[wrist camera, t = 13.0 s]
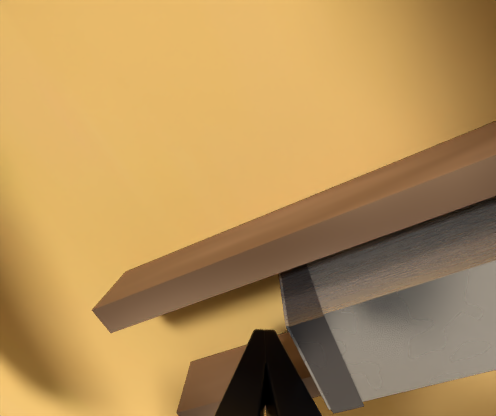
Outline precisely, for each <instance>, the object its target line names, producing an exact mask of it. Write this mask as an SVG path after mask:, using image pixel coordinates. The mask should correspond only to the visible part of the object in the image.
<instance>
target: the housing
mask: <svg viewBox="0 0 496 416" xmlns="http://www.w3.org/2000/svg"><path fill="white" fill-rule="evenodd" d="M494 196H496V121H495V122H492V123H490V124H487V125H485V126H483V127H480V128H478V129H475V130H473V131H470V132H468V133H465V134H463V135H460V136H458V137H455V138H453V139H451V140H448V141H446V142H443V143H441V144H438V145H436V146H433V147H431V148H428V149H426V150H424V151H421V152H419V153H416V154H414V155H411V156H409V157H406V158H404V159H401V160H399V161H397V162H394V163H392V164H389V165H387V166H384V167H382V168H379V169H377V170H374V171H372V172H369V173H367V174H365V175H362V176H360V177H357V178H355V179H352V180H350V181H347V182H345V183H342V184H340V185H338V186H335V187H333V188H330V189H328V190H325V191H323V192H320V193H318V194H315V195H313V196H311V197H308V198H306V199H303V200H301V201H298V202H296V203H293V204H291V205H288V206H286V207H283V208H281V209H279V210H276V211H274V212H271V213H269V214H266V215H264V216H261V217H259V218H256V219H254V220H252V221H249V222H247V223H244V224H242V225H239V226H237V227H234V228H232V229H229V230H227V231H224V232H222V233H220V234H217V235H215V236H212V237H210V238H207V239H205V240H202V241H200V242H197V243H195V244H193V245H190V246H188V247H185V248H183V249H180V250H178V251H175V252H173V253H170V254H168V255H166V256H163V257H161V258H158V259H156V260H153V261H151V262H148V263H146V264H143V265H141V266H138V267H136V268H134V269H131V270H129V271H126V272H125V273H124V274H123V275H122V276H121V277H120V279H119V280H118V281H117V282H116V283H115V284H114V285H113V287H112V288H111V289H110V290H109V291H108V292H107V293H106V295H105V296H104V297H103V298H102V299H101V300H100V301H99V303H98V304H97V305H96V306H95V307H94V308H93V309H92V311H93V312H94V313H95V315H96V316H97V317H98V318H99V319H100V321H101V322H102V323H103V324H104V326H105V327H106V328H107V329H108V330H109V332H110V333H113V332H116V331H118V330H121V329H124V328H127V327H130V326H132V325H135V324H138V323H141V322H144V321H146V320H149V319H152V318H155V317H158V316H160V315H163V314H166V313H169V312H172V311H174V310H177V309H180V308H183V307H186V306H188V305H191V304H194V303H197V302H200V301H202V300H205V299H208V298H211V297H214V296H216V295H219V294H222V293H225V292H228V291H230V290H233V289H236V288H239V287H242V286H244V285H247V284H250V283H253V282H256V281H258V280H261V279H264V278H267V277H270V276H272V275H275V274H278V273H281V272H284V271H286V270H289V269H292V268H295V267H298V266H300V265H303V264H306V263H309V262H312V261H314V260H317V259H320V258H323V257H326V256H328V255H331V254H334V253H337V252H340V251H342V250H345V249H348V248H351V247H354V246H356V245H359V244H362V243H365V242H368V241H370V240H373V239H376V238H379V237H382V236H384V235H387V234H390V233H393V232H396V231H398V230H401V229H404V228H407V227H410V226H413V225H415V224H418V223H421V222H424V221H427V220H429V219H432V218H435V217H438V216H441V215H443V214H446V213H449V212H452V211H455V210H457V209H460V208H463V207H466V206H469V205H471V204H474V203H477V202H480V201H483V200H485V199H488V198H491V197H494ZM278 337H279V339H280V340H281V342H282V344H283V346H284V348H285V349H286V351H287V353H288V355H289V357H290V359H291V360H292V362H293V364H294V366H295V368H296V370H297V371H298V373H299V375H300V377H301V379H302V380H303V382H304V384H305V386H306V388H307V390H308V391H309V393H310V395H311V397H312V398H314V397H318V396H322V395H321V394H320V392H319V390H318V388H317V386H316V384H315V382H314V380H313V378H312V376H311V374H310V372H309V370H308V368H307V366H306V365H305V363H304V361H303V359H302V357H301V355H300V353H299V351H298V349H297V347H296V345H295V343H294V341H293V339H292V338H291V336H290V334H289V332H286V333H283V334H280V335H278ZM246 346H247V345H244V346H241V347H238V348H234V349H231V350H228V351H225V352H222V353H218V354H215V355H212V356H209V357H205V358H202V359H199V360H196V361H192V362H191V363H190V366H189V370H188V374H187V377H186V381H185V384H184V388H183V392H182V395H181V399H180V402H179V406H178V409H177V414H178V415H179V416H214V415H215V413H216V411H217V408H218V406H219V404H220V402H221V400H222V398H223V396H224V393H225V391H226V389H227V387H228V385H229V383H230V381H231V378H232V376H233V374H234V372H235V370H236V368H237V366H238V363H239V361H240V359H241V357H242V355H243V353H244V350H245V348H246ZM265 410H266V408H265Z"/></svg>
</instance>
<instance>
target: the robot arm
mask: <svg viewBox="0 0 496 416" xmlns="http://www.w3.org/2000/svg"><path fill="white" fill-rule="evenodd" d="M265 408H266V416H322V415H321V413H320V411H319V410H318V408H317V406H316V404H315V402H314V401H313V399H312V397H311V395H310V393H309V391H308V390H307V388H306V386H305V384H304V382H303V380H302V379H301V377H300V375H299V373H298V371H297V370H296V368H295V366H294V364H293V362H292V360H291V359H290V357H289V355H288V353H287V351H286V349H285V348H284V346H283V344H282V342H281V340H280V339H279V337H278V335H277V333H276V331H275V330H263V329H255V330H254V331H253V333H252V335H251V338H250V340H249V342H248V344H247V346H246V348H245V350H244V353H243V355H242V357H241V359H240V361H239V363H238V366H237V368H236V370H235V372H234V374H233V376H232V378H231V381H230V383H229V385H228V387H227V389H226V391H225V393H224V396H223V398H222V400H221V402H220V404H219V406H218V408H217V411H216V413H215V415H214V416H264V413H265Z"/></svg>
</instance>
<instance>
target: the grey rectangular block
mask: <svg viewBox="0 0 496 416" xmlns="http://www.w3.org/2000/svg"><path fill="white" fill-rule="evenodd" d="M279 280H280V288H281V295H282V303H283V310H284V317H285V325H286V328H287V330H288V332H289V334H290V336H291V338H292V339H293V341H294V343H295V345H296V347H297V349H298V351H299V353H300V355H301V357H302V359H303V361H304V363H305V365H306V366H307V368H308V370H309V372H310V374H311V376H312V378H313V380H314V382H315V384H316V386H317V388H318V390H319V392H320V394H321V395H322V397H323V399H324V401H325V403H326V405H327V407H328V409H329V410H332V412H333V414H334V413H338V412H342V411H347V410H351V409H355V408H359V407H364V404H363V402H364V401H368V400H372V399H376V398H381V397H385V396H389V395H393V394H397V393H401V392H406V391H410V390H414V389H418V388H422V387H426V386H430V385H435V384H439V383H443V382H447V381H451V380H455V379H460V378H464V377H468V376H472V375H476V374H480V373H485V372H489V371H493V370H496V196H494V197H491V198H488V199H485V200H483V201H480V202H477V203H474V204H471V205H469V206H466V207H463V208H460V209H457V210H455V211H452V212H449V213H446V214H443V215H441V216H438V217H435V218H432V219H429V220H427V221H424V222H421V223H418V224H415V225H413V226H410V227H407V228H404V229H401V230H398V231H396V232H393V233H390V234H387V235H384V236H382V237H379V238H376V239H373V240H370V241H368V242H365V243H362V244H359V245H356V246H354V247H351V248H348V249H345V250H342V251H340V252H337V253H334V254H331V255H328V256H326V257H323V258H320V259H317V260H314V261H312V262H309V263H306V264H303V265H300V266H298V267H295V268H292V269H289V270H286V271H284V272H281V273H279Z"/></svg>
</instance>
